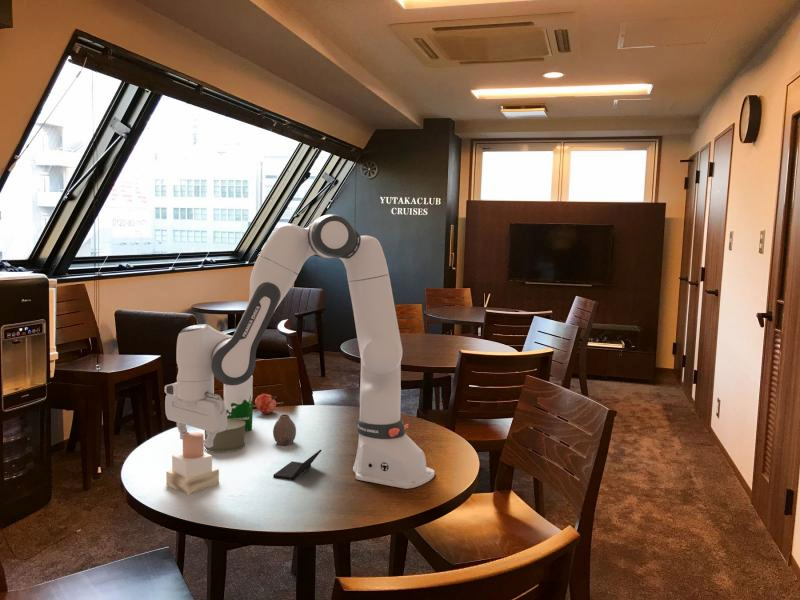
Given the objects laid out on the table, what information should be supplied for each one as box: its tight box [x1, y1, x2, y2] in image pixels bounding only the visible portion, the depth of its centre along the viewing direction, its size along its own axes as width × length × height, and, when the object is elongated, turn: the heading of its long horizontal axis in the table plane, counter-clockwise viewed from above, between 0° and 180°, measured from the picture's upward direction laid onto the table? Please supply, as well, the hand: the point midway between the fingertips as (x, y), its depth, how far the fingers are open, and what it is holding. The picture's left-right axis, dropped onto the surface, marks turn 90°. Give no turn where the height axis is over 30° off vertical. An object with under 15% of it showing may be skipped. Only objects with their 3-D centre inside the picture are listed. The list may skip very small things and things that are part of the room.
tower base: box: [165, 466, 220, 495], centre depth 160 cm, size 9×9×4 cm
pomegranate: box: [254, 393, 277, 415], centre depth 224 cm, size 7×7×10 cm
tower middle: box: [171, 451, 213, 478], centre depth 159 cm, size 7×7×4 cm
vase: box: [272, 413, 297, 446], centre depth 192 cm, size 7×7×9 cm
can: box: [204, 418, 246, 453], centre depth 189 cm, size 12×12×7 cm
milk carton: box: [223, 375, 254, 432], centre depth 205 cm, size 9×9×20 cm
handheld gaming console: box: [272, 449, 322, 481], centre depth 169 cm, size 12×7×10 cm
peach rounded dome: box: [182, 432, 205, 458], centre depth 159 cm, size 5×5×5 cm
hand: (196, 442), depth 159 cm, fingers open, 8 cm apart
